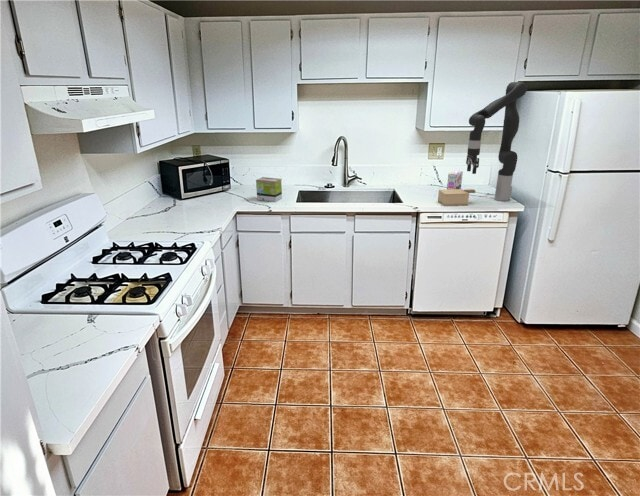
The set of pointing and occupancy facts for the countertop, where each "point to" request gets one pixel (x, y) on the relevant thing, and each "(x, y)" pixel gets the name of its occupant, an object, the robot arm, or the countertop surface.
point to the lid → (457, 191)
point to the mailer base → (453, 199)
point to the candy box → (454, 180)
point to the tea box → (269, 189)
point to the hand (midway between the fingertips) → (471, 172)
